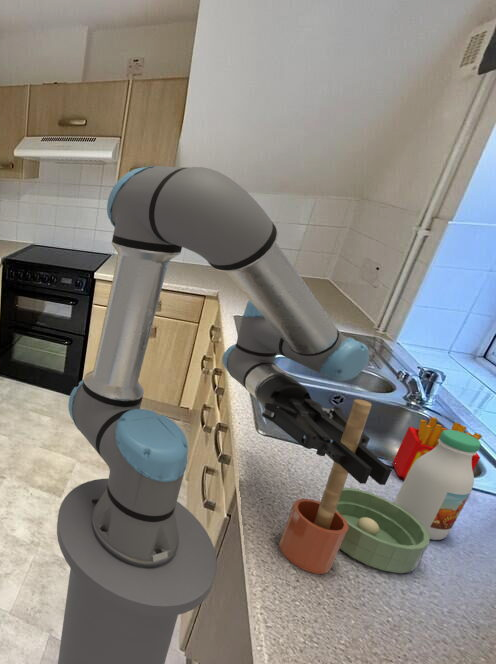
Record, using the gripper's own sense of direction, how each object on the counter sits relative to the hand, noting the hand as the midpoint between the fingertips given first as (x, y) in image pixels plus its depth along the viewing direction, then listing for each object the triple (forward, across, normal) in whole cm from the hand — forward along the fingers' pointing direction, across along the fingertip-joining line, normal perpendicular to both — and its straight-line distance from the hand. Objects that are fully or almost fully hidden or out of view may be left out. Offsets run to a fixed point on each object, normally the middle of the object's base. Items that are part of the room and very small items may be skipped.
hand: (375, 476), depth 59 cm
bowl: (-9, -13, -22) cm, 27 cm away
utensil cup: (-6, 0, -22) cm, 23 cm away
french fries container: (-27, -39, -22) cm, 52 cm away
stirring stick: (-5, 0, -16) cm, 16 cm away
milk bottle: (-14, -26, -22) cm, 37 cm away
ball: (-11, -14, -20) cm, 26 cm away
